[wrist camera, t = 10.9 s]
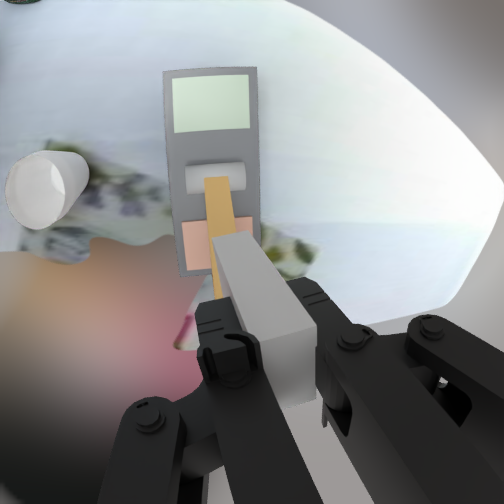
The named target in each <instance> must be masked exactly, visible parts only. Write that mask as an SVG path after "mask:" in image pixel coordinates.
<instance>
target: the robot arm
mask: <svg viewBox="0 0 504 504" xmlns="http://www.w3.org/2000/svg"><path fill="white" fill-rule="evenodd" d="M212 243H213V249H214V254H215V259H216V264H217V269H218V274H219V279H220V284H221V289H222V294H223V298H220V299H216V300H212V301H207V302H203V303H199V305H198V307H197V310H196V312H195V319H196V325H197V331H198V336H199V342H200V346H199V348H198V349H197V360H198V363H199V366H200V369H201V372H202V375H203V381H202V382H201V384H200V385H199V387H198V388H197V389H196V390H194V391H193V392H192V393H191V394H189V395H187V396H185V397H184V398H181V399H179V400H177V401H175V402H171V401H170V400H168V399H166V398H162V397H156V396H155V397H147V398H143V399H141V400H139V401H137V402H134V403H133V404H132V405H131V406H130V407H129V408H128V409H127V410H126V411H125V413H124V415H123V417H122V420H121V422H120V425H119V429H118V432H117V436H116V438H115V442H114V445H113V449H112V452H111V455H110V459H109V462H108V465H107V469H106V473H105V476H104V480H103V483H102V487H101V491H100V495H99V499H98V502H97V504H207V497H208V483H209V473H210V472H212V471H214V470H215V469H217V468H219V467H221V466H223V465H224V467H225V471H226V475H227V479H228V482H229V486H230V490H231V493H232V497H233V500H234V504H324V503H323V501H322V499H321V497H320V495H319V493H318V490H317V488H316V486H315V484H314V482H313V480H312V477H311V475H310V473H309V471H308V469H307V467H306V464H305V462H304V460H303V458H302V456H301V453H300V451H299V449H298V447H297V445H296V442H295V440H294V438H293V435H292V433H291V431H290V429H289V427H288V424H287V422H286V420H285V417H284V415H283V413H282V410H283V409H286V408H290V407H293V406H296V405H299V404H302V403H305V402H308V401H311V400H314V399H316V387H317V389H318V390H319V392H320V394H321V396H322V398H323V409H322V425H323V427H326V426H327V420H328V421H329V423H330V424H331V426H332V428H333V430H334V432H335V434H336V435H337V437H338V439H339V441H340V443H341V444H342V446H343V448H344V450H345V452H346V453H347V455H348V457H349V459H350V461H351V462H352V464H353V466H354V467H355V470H356V471H357V473H358V475H359V477H360V478H361V480H362V482H363V483H364V485H365V487H366V489H367V491H368V493H369V494H370V496H371V498H372V500H373V501H374V503H375V504H504V352H502V351H500V350H499V349H497V348H495V347H493V346H492V345H490V344H488V343H487V342H485V341H483V340H481V339H480V338H478V337H476V336H475V335H473V334H471V333H469V332H468V331H466V330H464V329H462V328H461V327H458V326H457V325H455V324H454V323H452V322H450V321H448V320H447V319H445V318H442V317H439V316H437V315H429V314H427V315H420V316H418V317H416V318H413V319H412V320H411V322H410V323H409V324H408V329H407V333H399V334H391V335H378V334H377V333H376V332H374V331H373V330H372V329H371V328H369V327H367V326H364V325H361V324H352V322H351V321H350V320H349V319H348V318H347V317H346V316H345V314H344V313H343V312H342V311H341V310H340V309H339V308H338V306H337V305H336V304H335V303H334V302H333V301H332V300H330V297H329V296H328V295H327V294H326V293H324V290H323V289H322V288H321V287H320V286H319V285H318V284H317V283H316V282H314V281H312V280H310V279H308V278H306V277H302V278H298V279H294V280H290V281H286V282H285V280H284V279H283V278H282V276H281V275H280V274H279V272H278V271H277V269H276V268H275V267H274V265H273V264H272V262H271V261H270V260H269V258H268V257H267V256H266V254H265V253H264V251H263V250H262V249H261V247H260V246H259V244H258V243H257V242H256V240H255V239H254V238H253V236H252V235H251V233H250V232H249V231H248V230H246V231H241V232H237V233H232V234H227V235H223V236H218V237H213V238H212ZM441 377H442V378H444V379H445V380H447V381H448V383H447V384H444V383H441V382H439V380H440V378H441Z"/></svg>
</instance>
